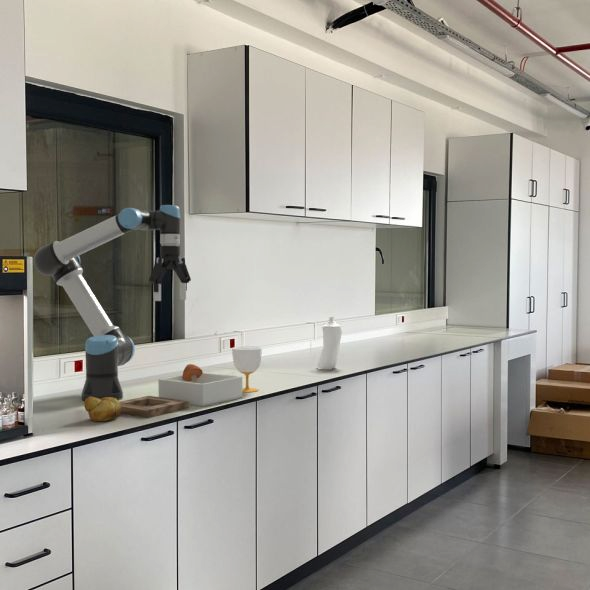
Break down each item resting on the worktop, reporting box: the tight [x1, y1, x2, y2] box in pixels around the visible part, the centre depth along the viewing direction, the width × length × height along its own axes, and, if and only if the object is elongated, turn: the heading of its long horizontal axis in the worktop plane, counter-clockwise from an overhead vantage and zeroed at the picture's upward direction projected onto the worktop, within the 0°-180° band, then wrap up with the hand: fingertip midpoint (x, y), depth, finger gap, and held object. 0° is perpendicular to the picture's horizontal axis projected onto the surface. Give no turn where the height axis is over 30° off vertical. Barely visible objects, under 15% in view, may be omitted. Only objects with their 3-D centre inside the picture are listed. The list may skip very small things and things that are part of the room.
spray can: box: [316, 316, 343, 370], centre depth 364 cm, size 12×11×25 cm
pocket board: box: [119, 395, 190, 419], centre depth 262 cm, size 20×20×2 cm
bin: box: [158, 372, 243, 408], centre depth 282 cm, size 22×22×8 cm
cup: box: [231, 346, 263, 393], centre depth 301 cm, size 12×12×17 cm
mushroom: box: [182, 363, 204, 383], centre depth 286 cm, size 8×8×15 cm
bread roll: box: [83, 396, 121, 422], centre depth 247 cm, size 13×10×8 cm
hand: (170, 300), depth 293 cm, fingers open, 13 cm apart
